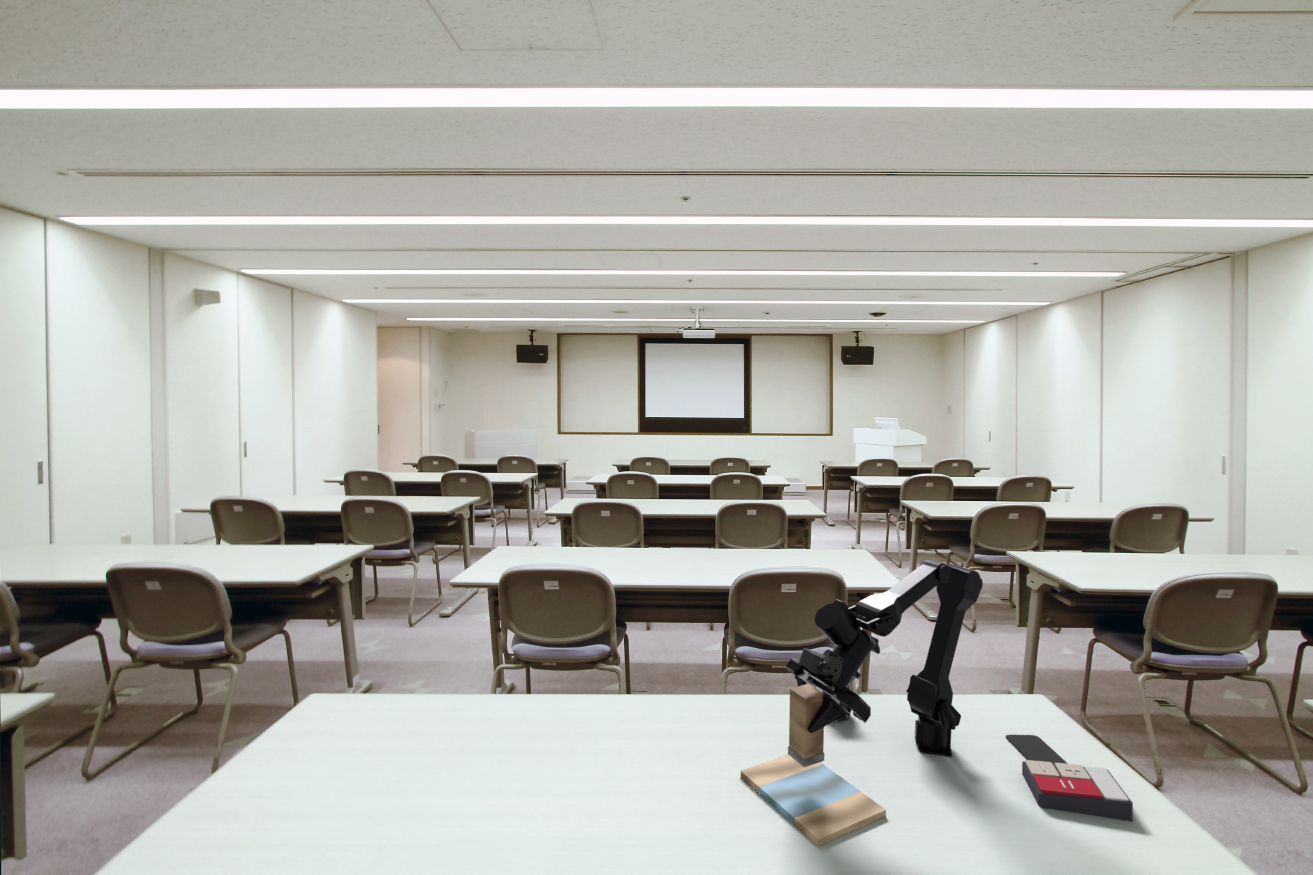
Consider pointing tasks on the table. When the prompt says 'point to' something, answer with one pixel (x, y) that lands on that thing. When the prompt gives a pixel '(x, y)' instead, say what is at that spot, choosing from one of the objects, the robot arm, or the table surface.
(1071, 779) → the calculator
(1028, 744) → the phone
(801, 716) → the wooden pillar on base
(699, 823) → the table surface
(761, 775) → the board
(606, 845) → the table surface
